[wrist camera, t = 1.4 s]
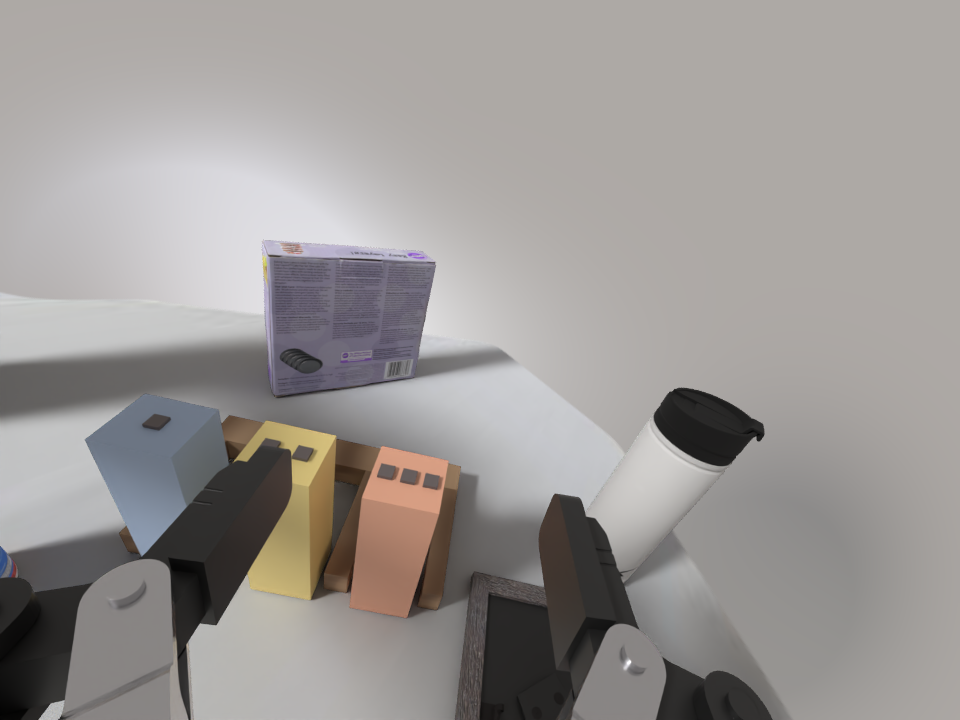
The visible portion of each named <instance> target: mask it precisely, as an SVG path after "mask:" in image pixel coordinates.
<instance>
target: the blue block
mask: <svg viewBox="0 0 960 720" xmlns="http://www.w3.org/2000/svg"><path fill="white" fill-rule="evenodd" d="M85 441H86V443H87V445H88V447H89V449H90V451H91V454H92V456H93V458H94V460H95V462H96V464H97V466H98V468H99V470H100V472H101V474H102V476H103V478H104V480H105V482H106V484H107V486H108V489H109V491H110V493H111V495H112V497H113V499H114V501H115V503H116V505H117V507H118V509H119V511H120V513H121V515H122V517H123V519H124V522H125V524H126V526H127V528H128V530H129V532H130V534H131V536H132V538H133V540H134V542H135V544H136V546H137V548H138V550H139V552H140V555H141V557H142V556H143V555H144V554H145V553H146V552H147V551H148V550H149V549H150V547H151V546H152V545H153V544H154V543H155V542H156V541H157V540H158V538H159V537H160V536H161V535H162V534H163V533H164V532H165V531H166V530H167V528H168V527H169V526H170V525H171V524H172V523H173V522H174V521H175V519H176V518H177V517H178V516H179V515H180V514H181V513H182V512H183V511H184V509H185V508H186V507H187V506H188V505H189V504H190V503H192V502H193V499H194V498H195V497H196V496H197V495H198V494H199V493H200V492H201V490H202V491H203V490H204V487H205V486H206V485H207V484H208V483H209V481H210V480H211V479H212V478H213V477H214V476H215V475H216V474H217V473H218V472H219V471H220V470H222V469H224V468H225V467H227V466H229V462H228V456H227V451H226V446H225V441H224V436H223V430H222V425H221V420H220V415H219V410H217V409H213V408H208V407H204V406H199V405H195V404H190V403H186V402H181V401H177V400H172V399H168V398H163V397H159V396H154V395H150V394H144V395H143V396H141V397H140V398H139V399H137V400H136V401H135V402H133V403H132V404H131V405H129V406H128V407H127V408H126V409H124V410H123V411H122V412H120V413H119V414H118V415H116V416H115V417H114V418H112V419H111V420H110V421H109V422H107V423H106V424H105V425H103V426H102V427H101V428H99V429H98V430H97V431H95V432H94V433H93V434H92V435H90V436H89V437H88V438H86V439H85Z"/></svg>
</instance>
